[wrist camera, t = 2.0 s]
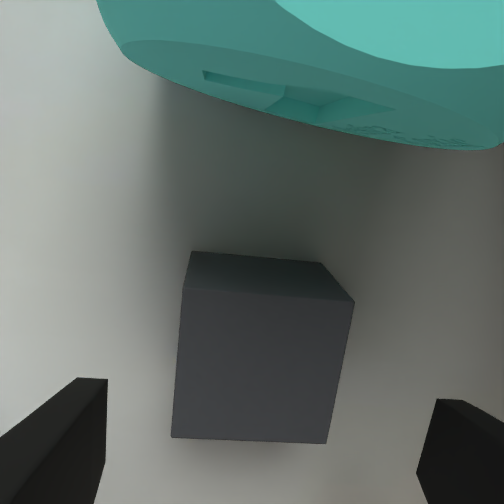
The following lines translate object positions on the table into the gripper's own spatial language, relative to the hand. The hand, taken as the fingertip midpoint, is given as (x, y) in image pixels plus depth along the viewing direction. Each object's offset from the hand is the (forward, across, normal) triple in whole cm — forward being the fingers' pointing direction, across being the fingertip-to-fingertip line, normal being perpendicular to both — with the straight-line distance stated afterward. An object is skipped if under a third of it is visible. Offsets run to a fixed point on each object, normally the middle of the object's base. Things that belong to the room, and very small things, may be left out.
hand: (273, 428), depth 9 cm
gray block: (+6, 0, 0) cm, 6 cm away
